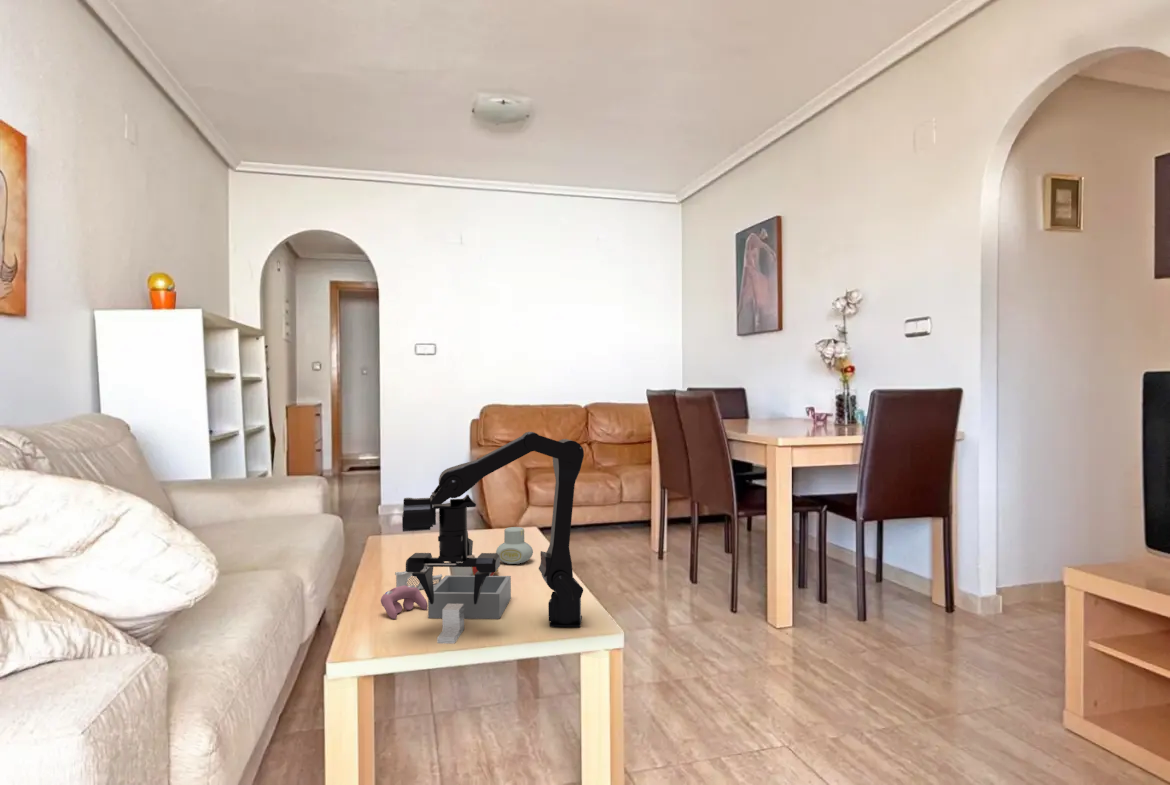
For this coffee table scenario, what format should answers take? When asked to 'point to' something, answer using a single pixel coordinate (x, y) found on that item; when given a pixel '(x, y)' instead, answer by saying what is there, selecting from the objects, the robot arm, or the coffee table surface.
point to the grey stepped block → (452, 623)
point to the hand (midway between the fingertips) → (453, 603)
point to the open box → (472, 596)
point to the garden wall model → (404, 576)
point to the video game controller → (402, 592)
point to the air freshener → (514, 547)
